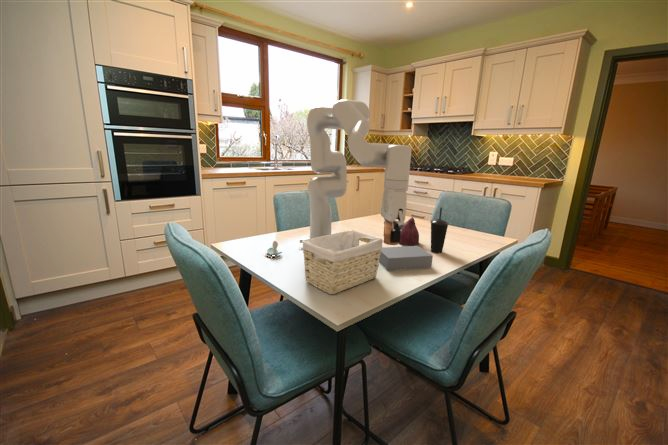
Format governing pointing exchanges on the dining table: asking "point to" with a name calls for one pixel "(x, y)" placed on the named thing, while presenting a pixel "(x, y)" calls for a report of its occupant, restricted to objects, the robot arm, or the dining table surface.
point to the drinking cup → (438, 234)
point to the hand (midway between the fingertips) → (391, 239)
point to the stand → (405, 258)
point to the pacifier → (273, 250)
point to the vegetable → (409, 234)
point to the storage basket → (341, 260)
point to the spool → (388, 233)
